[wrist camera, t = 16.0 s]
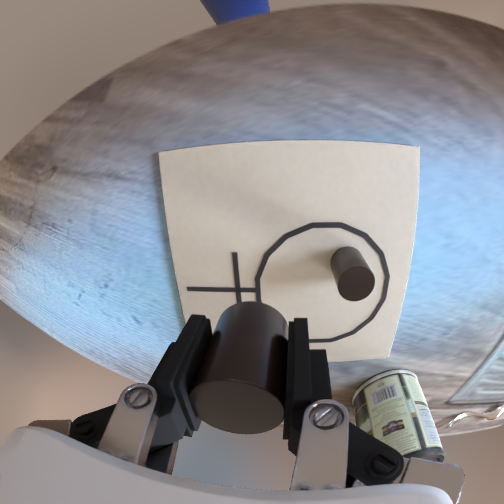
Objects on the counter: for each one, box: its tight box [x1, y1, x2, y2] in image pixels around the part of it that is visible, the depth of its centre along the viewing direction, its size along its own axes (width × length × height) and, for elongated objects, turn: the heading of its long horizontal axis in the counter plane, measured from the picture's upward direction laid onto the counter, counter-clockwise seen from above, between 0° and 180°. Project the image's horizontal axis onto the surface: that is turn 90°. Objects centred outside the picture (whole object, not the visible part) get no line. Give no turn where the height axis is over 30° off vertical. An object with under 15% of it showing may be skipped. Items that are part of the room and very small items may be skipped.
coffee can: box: [352, 370, 446, 463], centre depth 25 cm, size 10×10×14 cm
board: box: [159, 140, 420, 362], centre depth 26 cm, size 24×24×1 cm
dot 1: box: [189, 301, 288, 434], centre depth 10 cm, size 3×3×4 cm
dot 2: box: [330, 246, 375, 301], centre depth 23 cm, size 3×3×4 cm
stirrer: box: [446, 403, 504, 428], centre depth 32 cm, size 20×4×5 cm
